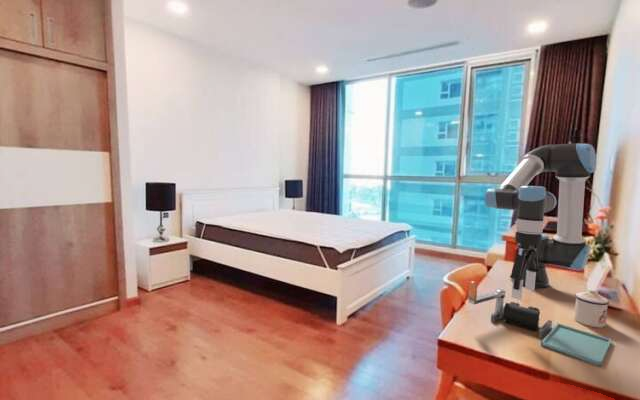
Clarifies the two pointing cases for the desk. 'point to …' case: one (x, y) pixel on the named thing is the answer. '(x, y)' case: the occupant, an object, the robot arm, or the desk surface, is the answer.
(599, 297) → the teacup with lid
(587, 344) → the tray
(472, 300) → the crank handle
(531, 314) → the end cap
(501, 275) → the desk surface
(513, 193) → the robot arm
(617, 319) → the desk surface
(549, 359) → the desk surface
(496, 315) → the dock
